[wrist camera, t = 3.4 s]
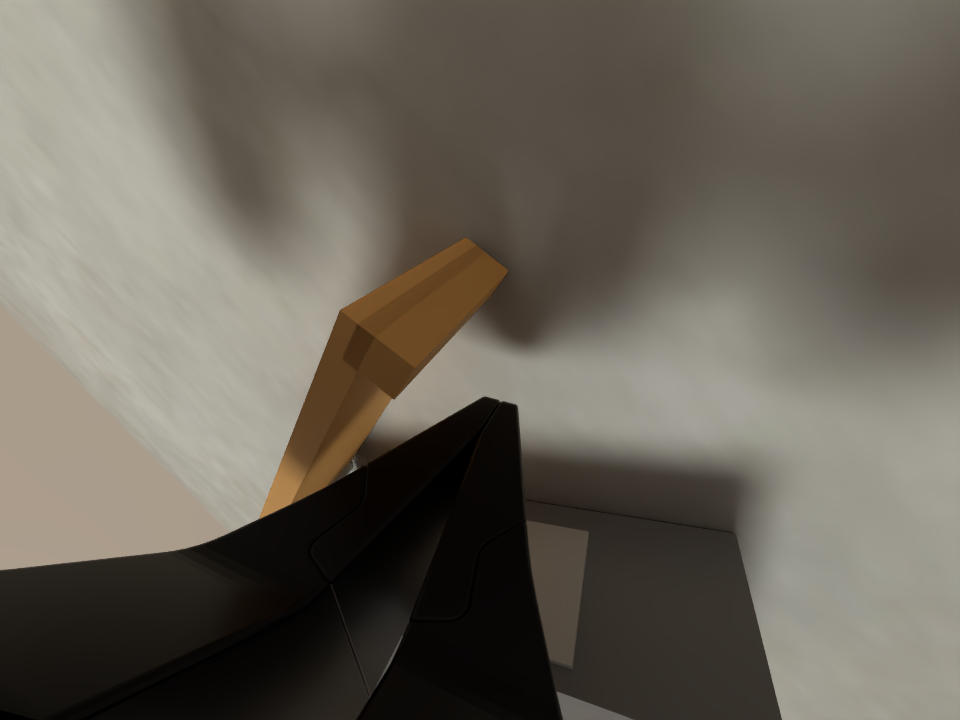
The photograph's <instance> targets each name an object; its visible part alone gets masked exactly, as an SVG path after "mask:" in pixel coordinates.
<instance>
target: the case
mask: <svg viewBox="0 0 960 720" xmlns="http://www.w3.org/2000/svg"><path fill="white" fill-rule="evenodd" d="M351 470H352V464H351V462H350V463H349V464H348V465H347V466H346V467H345V468H344V469H343V471H342V472H341V473H340V474H339V475H338V476H337V477H336V478H335V480H334V481H333V482H332V483H334V482H336V481H337V480H339V479H341V478H343V477H345V476H347V475H348V473H349V472H350V471H351ZM332 483H331V484H332ZM525 505H526V519H527V521H526V524H527V529H528V543H529V551H530V560H531V569H532V575H533V581H534V586H535V592H536V597H537V603H538V607H539V612H540V617H541V621H542V626H543V631H544V635H545V640H546V645H547V649H548V654H549V659H550V664H551V668H552V673H553V678H554V682H555V687H556V692H557V696H558V700H559V704H560V708H561V712H562V716H563V720H782V718H781V714H780V710H779V706H778V702H777V698H776V694H775V690H774V686H773V682H772V678H771V674H770V670H769V666H768V662H767V658H766V654H765V650H764V646H763V642H762V638H761V634H760V630H759V626H758V622H757V618H756V614H755V610H754V606H753V602H752V598H751V594H750V590H749V586H748V582H747V578H746V574H745V570H744V566H743V562H742V558H741V554H740V550H739V546H738V542H737V538H736V534H734V533H728V532H722V531H715V530H709V529H703V528H696V527H690V526H683V525H677V524H671V523H664V522H658V521H652V520H645V519H639V518H633V517H626V516H620V515H614V514H607V513H601V512H595V511H588V510H582V509H576V508H569V507H563V506H557V505H550V504H544V503H538V502H531V501H525ZM404 632H405V631H404ZM403 634H404V633H403ZM402 637H403V635H402ZM402 637H401V639H402ZM401 639H400V641H401ZM400 641H399V643H398V645H397V647H396V649H395V651H394V653H393V655H392V656H391V658H390V660H389V662H388V664H387V666H386V668H385V670H384V672H383V674H382V676H381V678H382V677H383V675H384V674H385V672H386V670H387V668H388V667H389V665H390V663H391V661H392V659H393V657H394V655H395V653H396V650H397V648H398V646H399V644H400ZM381 678H380V680H381ZM380 680H379V682H380ZM379 682H378V683H379ZM377 685H378V684H377ZM376 687H377V686H376ZM369 698H370V696H369Z"/></svg>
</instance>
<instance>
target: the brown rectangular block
mask: <svg viewBox="0 0 960 720" xmlns="http://www.w3.org/2000/svg"><path fill="white" fill-rule="evenodd" d="M508 271H509V270H507V269H506V268H505V267H503V266H502V265H501V264H500V263H498V262H497V261H496V260H495V259H493V258H492V257H491V256H490V255H488V254H487V253H486V252H484V251H483V250H482V249H481V248H479V247H478V246H477V245H476V244H474V243H473V242H472V241H471V240H469V239H468V238H467V237H466V238H464V239H462V240H460V241H459V242H457V243H455V244H454V245H452V246H450V247H448V248H447V249H445V250H443V251H441V252H440V253H438V254H436V255H435V256H433V257H431V258H429V259H428V260H426V261H424V262H422V263H421V264H419V265H417V266H416V267H414V268H412V269H410V270H409V271H407V272H405V273H403V274H402V275H400V276H398V277H397V278H395V279H393V280H391V281H390V282H388V283H386V284H384V285H383V286H381V287H379V288H378V289H376V290H374V291H372V292H371V293H369V294H367V295H366V296H364V297H362V298H360V299H359V300H357V301H355V302H353V303H352V304H350V305H348V306H347V307H345V308H343V309H341V310H340V312H339V314H338V317H337V319H336V322H335V325H334V327H333V330H332V332H331V335H330V337H329V340H328V343H327V345H326V348H325V350H324V353H323V355H322V358H321V361H320V363H319V366H318V368H317V371H316V373H315V376H314V379H313V381H312V384H311V386H310V389H309V391H308V394H307V397H306V399H305V402H304V404H303V407H302V409H301V412H300V415H299V417H298V420H297V422H296V425H295V427H294V430H293V433H292V435H291V438H290V440H289V443H288V445H287V448H286V451H285V453H284V456H283V458H282V461H281V463H280V466H279V469H278V471H277V474H276V476H275V479H274V481H273V484H272V487H271V489H270V492H269V494H268V497H267V499H266V502H265V505H264V507H263V510H262V512H261V515H260V518H262V517H264V516H267V515H269V514H271V513H273V512H275V511H277V510H279V509H281V508H284V507H286V506H288V505H290V504H292V503H294V502H296V501H298V500H300V499H302V498H304V497H306V496H309V495H311V494H313V493H315V492H317V491H319V490H321V489H323V488H325V487H327V486H328V485H330V484H331V483H332V482H333V481H334V480H335V478H336V477H337V476H338V475H339V474H340V473H341V472H342V471H343V469H344V468H345V467H346V466H347V465H348V464H349V463H350V461H351V460H352V459H353V457H354V456H355V454H356V453H357V451H358V450H359V448H360V447H361V445H362V444H363V442H364V440H365V439H366V437H367V436H368V434H369V433H370V431H371V430H372V428H373V427H374V425H375V423H376V422H377V420H378V419H379V417H380V416H381V414H382V413H383V411H384V410H385V408H386V406H387V405H388V403H389V402H390V400H391V399H395V398H396V397H397V396H398V395H399V394H400V393H401V392H402V391H403V390H404V389H405V388H406V386H407V385H408V384H409V383H410V382H411V381H412V380H413V379H414V378H415V377H416V376H417V375H418V374H419V372H420V371H421V370H422V369H423V368H424V367H425V366H426V365H427V364H428V363H429V362H430V361H431V360H432V358H433V357H434V356H435V355H436V354H437V353H438V352H439V351H440V350H441V349H442V348H443V347H444V346H445V344H446V343H447V342H448V341H449V340H450V339H451V338H452V337H453V336H454V335H455V334H456V333H457V332H458V330H459V329H460V328H461V327H462V326H463V325H464V324H465V323H466V322H467V321H468V320H469V319H470V318H471V316H472V315H473V314H474V313H475V312H476V311H477V310H478V309H479V308H480V307H481V306H482V305H483V304H484V302H485V301H486V300H487V299H488V298H489V297H490V296H491V295H492V294H493V292H494V291H495V289H496V288H497V287H498V285H499V284H500V282H501V281H502V280H503V278H504V277H505V276H506V274H507V273H508ZM260 518H259V519H260Z"/></svg>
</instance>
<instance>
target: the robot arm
mask: <svg viewBox="0 0 960 720" xmlns="http://www.w3.org/2000/svg"><path fill="white" fill-rule="evenodd" d="M526 521H527V519H526V505H525V492H524V479H523V466H522V453H521V440H520V427H519V414H518V406H517V405H516V404H512V403H508V402H504V401H502V402H500V401H499V400H497V399H493V398H489V397H482V398H480V399H478V400H477V401H475V402H473V403H472V404H470V405H468V406H466V407H465V408H463V409H461V410H459V411H458V412H456V413H454V414H453V415H451V416H449V417H447V418H446V419H444V420H442V421H440V422H439V423H437V424H435V425H433V426H432V427H430V428H428V429H427V430H425V431H423V432H421V433H420V434H418V435H416V436H414V437H413V438H411V439H409V440H408V441H406V442H404V443H402V444H401V445H399V446H397V447H395V448H394V449H392V450H390V451H388V452H387V453H385V454H383V455H382V456H380V457H378V458H376V459H375V460H373V461H371V462H369V463H368V464H367V467H366V466H362V467H361V468H359V469H357V470H355V471H354V472H352V473H350V474H348V475H347V476H345V477H343V478H341V479H339V480H337V481H336V482H334V483H332V484H330V485H328V486H327V487H325V488H323V489H321V490H319V491H317V492H315V493H313V494H311V495H309V496H306V497H304V498H302V499H300V500H298V501H296V502H294V503H292V504H290V505H288V506H286V507H284V508H281V509H279V510H277V511H275V512H273V513H271V514H269V515H267V516H264V517H262V518H260V519H258V520H256V521H254V522H252V523H250V524H247V525H245V526H243V527H241V528H239V529H237V530H235V531H232V532H230V533H228V534H226V535H224V536H221V537H219V538H217V539H214V540H212V541H209V542H206V543H203V544H200V545H197V546H193V547H190V548H186V549H181V550H176V551H169V552H162V553H153V554H144V555H135V556H126V557H116V558H107V559H98V560H89V561H81V562H71V563H62V564H53V565H44V566H36V567H26V568H17V569H8V570H0V720H563V716H562V712H561V708H560V704H559V700H558V696H557V692H556V687H555V682H554V678H553V673H552V668H551V664H550V659H549V654H548V649H547V645H546V640H545V635H544V631H543V626H542V621H541V617H540V612H539V607H538V603H537V597H536V592H535V586H534V581H533V575H532V569H531V560H530V551H529V543H528V529H527V524H526ZM404 631H405V632H404ZM403 633H404V634H403ZM402 635H403V637H402ZM401 637H402V639H401ZM400 639H401V641H400ZM399 641H400V644H399V646H398V648H397V650H396V653H395V655H394V657H393V659H392V661H391V663H390V665H389V667H388V668H387V670H386V672H385V674H384V675H383V677H382V678H381V676H382V674H383V672H384V670H385V668H386V666H387V664H388V662H389V660H390V658H391V656H392V655H393V653H394V651H395V649H396V647H397V645H398V643H399ZM380 678H381V680H380ZM379 680H380V682H379ZM378 682H379V683H378ZM377 684H378V685H377ZM376 686H377V687H376ZM369 696H370V698H369Z"/></svg>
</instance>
